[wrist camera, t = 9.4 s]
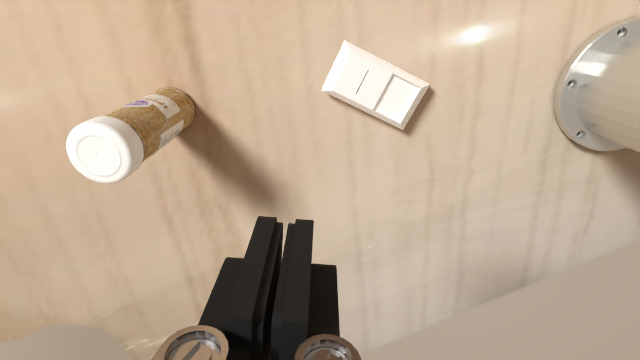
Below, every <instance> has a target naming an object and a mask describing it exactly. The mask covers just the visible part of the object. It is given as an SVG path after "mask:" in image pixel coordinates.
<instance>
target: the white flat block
mask: <svg viewBox="0 0 640 360" xmlns="http://www.w3.org/2000/svg"><path fill="white" fill-rule="evenodd" d="M429 85H430V84H428V83H427V82H425V81H423V80H421V79H419V78H417V77H415V76H413V75H411V74H409V73H407V72H405V71H403V70H401V69H400V68H398V67H396V66H394V65H392V64H390V63H388V62H386V61H384V60H382V59H380V58H378V57H376V56H374V55H372V54H370V53H369V52H367V51H365V50H363V49H361V48H359V47H357V46H355V45H353V44H351V43H349V42H347V41H345V40H344V42H343V44H342V47H341V49H340V51H339V53H338V55H337V57H336V59H335V61H334V64H333V66H332V68H331V70H330V72H329V74H328V76H327V78H326V81H325V83H324V85H323V87H322V91H323V92H325V93H327V94H329V95H332V96H334V97H336V98H338V99H340V100H342V101H344V102H346V103H348V104H350V105H352V106H354V107H356V108H358V109H360V110H363V111H365V112H367V113H369V114H371V115H373V116H375V117H377V118H379V119H381V120H383V121H385V122H387V123H389V124H392V125H394V126H396V127H398V128H400V129H402V130H403V129H404V128H405V126H406V124H407V123H408V121H409V119H410V118H411V116H412V114H413V112H414V111H415V109H416V107H417V106H418V104H419V102H420V101H421V99H422V97H423V96H424V94H425V92H426V91H427V89H428V87H429Z"/></svg>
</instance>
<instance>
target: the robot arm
mask: <svg viewBox="0 0 640 360" xmlns="http://www.w3.org/2000/svg"><path fill="white" fill-rule="evenodd" d="M554 110H555V115H556V120H557V122H558V124H559V126H560V128H561V130H562V131H563V132H564V133H565V135H566V136H567V137H568V138H570V139H571V140H572V141H574V142H575V143H577V144H579V145H581V146H583V147H586V148H589V149H592V150H597V151H616V150H622V149H625V148H629V149H632V150H634V151H636V152H639V153H640V17H635V18H630V19H626V20H623V21H620V22H617V23H615V24H613V25H611V26H608V27H606V28H604V29H603V30H601V31H600V32H598V33H597V34H595V35H594V36H592V37H591V38H590V39H589V40H588V41H587V42H585V43H584V44H583V45H582V46H581V47H580V48H579V49H578V50H577V52H576V53H575V54H574V55H573V56H572V58H571V59H570V60H569V62H568V64H567V65H566V67H565V69H564V70H563V72H562V74H561V77H560V79H559V82H558V84H557V88H556V93H555V99H554ZM313 223H314V220H301V219H296V222H295V224H292V223H289V224H288V229H287V235H286V240H285V246H284V252H283V258H282V240H283V223H279V222H277V218H276V217H263V216H258V218H257V221H256V224H255V227H254V230H253V233H252V236H251V239H250V242H249V245H248V248H247V251H246V254H245V257H244V258H231V257H227V258H226V259H225V261H224V263H223V266H222V268H221V270H220V273H219V275H218V278H217V280H216V283H215V285H214V287H213V290H212V292H211V295H210V297H209V300H208V302H207V304H206V307H205V309H204V312H203V314H202V317H201V319H200V321H199V324H198V325H196V326H191V327H187V328H184V329H182V330H179V331H177V332H176V333H174V334H173V335H171V336H170V337H168V338H167V340H166V341H165V342H164V343H163V344H162V345H161V346H160V348H159V349H158V351H157V352H156V354H155V355H154V357H153V358H152V360H361V358H360V355H359V353H358V351H357V350H356V349H355V347H354V346H353V345H352V344H351V343H350V342H348V341H347V340H345V339H344V338H341V337H340V333H339V311H338V290H337V269H336V265H324V264H311V260H312V241H313ZM281 261H282V263H281Z"/></svg>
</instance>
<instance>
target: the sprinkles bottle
mask: <svg viewBox="0 0 640 360" xmlns="http://www.w3.org/2000/svg"><path fill="white" fill-rule="evenodd" d="M194 115H195V109H194V105H193V103H192V101H191V99H190V98H189V97H188V96H187V95H186V94H185V93H184V92H183V91H181V90H179V89H175V88H171V87H164V88H161V89H159V90H158V91H156V92H155V93H153V94H151V95H148V96H145V97H143V98H141V99H139V100H136V101H134V102H132V103H130V104H128V105H125V106H123V107H122V108H121V109H119V110H117V111H114V112H112V113H110V114H108V115H106V116H100V117H95V118H92V119H90V120H88V121H85V122H83V123H81V124H79V125H78V126H76V127H75V128H74V129H73V130H72V131H71V132H70V134H69V135H68V138H67V142H66V148H67V154H68V157H69V159H70V161H71V163H72V164H73V166H74V167H75V168H76V169H77V170H78V171H79V172H80V173H81V174H82V175H84V176H85V177H87V178H89V179H91V180H93V181H96V182H99V183H107V184H110V183H116V182H119V181H122V180H123V179H125V178H126V177H128V176H129V175H131V174H132V173H133V172H134V171H136V170H137V169H138V168H139V167H140V165H141V164H142V162H143V161H144V160H145V159H147V158H148V157H149V156H151V155H153V154H154V153H156V152H157V151H158V150H159V149H160V148H162V147H163V146H164V145H165V144H167V143H168V142H169V141H171V140H172V139H173V138H174V137H175V136H177V135H178V134H179V133H180V131H182V130H184V129H186V128H187V127H189V126H190V124H191V123H192V122H193V119H194Z"/></svg>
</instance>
